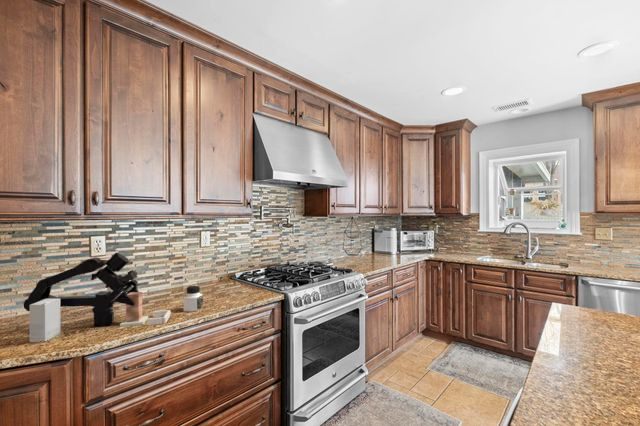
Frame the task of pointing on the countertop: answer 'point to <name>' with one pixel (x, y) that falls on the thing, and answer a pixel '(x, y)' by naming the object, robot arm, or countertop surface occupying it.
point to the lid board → (134, 322)
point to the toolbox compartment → (159, 320)
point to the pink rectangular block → (134, 307)
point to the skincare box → (44, 320)
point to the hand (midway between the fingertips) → (138, 302)
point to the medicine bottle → (193, 299)
